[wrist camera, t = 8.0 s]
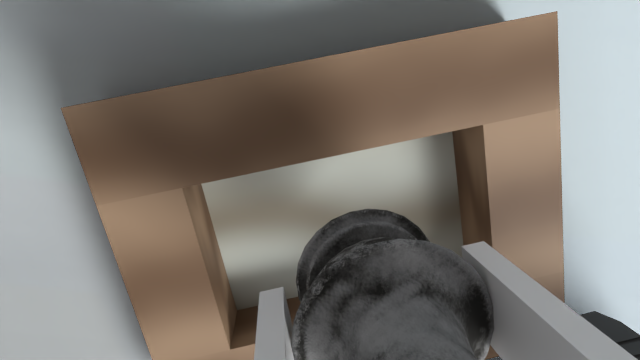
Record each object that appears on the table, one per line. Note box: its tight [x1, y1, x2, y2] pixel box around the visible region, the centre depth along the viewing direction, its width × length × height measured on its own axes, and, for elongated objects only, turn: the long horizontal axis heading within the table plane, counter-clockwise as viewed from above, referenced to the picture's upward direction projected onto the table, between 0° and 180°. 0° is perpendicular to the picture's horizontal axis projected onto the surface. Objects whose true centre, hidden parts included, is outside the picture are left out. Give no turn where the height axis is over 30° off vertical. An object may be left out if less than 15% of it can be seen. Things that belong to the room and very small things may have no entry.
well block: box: [61, 11, 564, 360], centre depth 19 cm, size 16×20×4 cm
